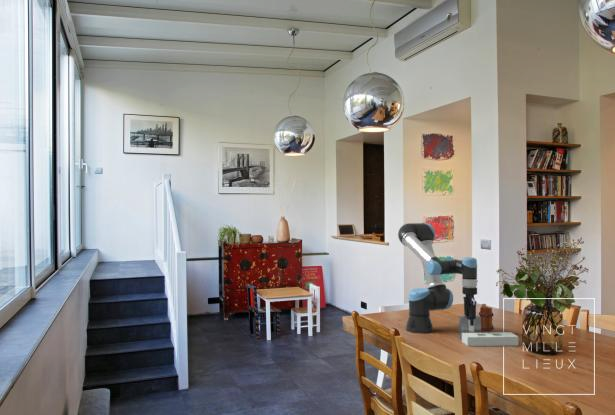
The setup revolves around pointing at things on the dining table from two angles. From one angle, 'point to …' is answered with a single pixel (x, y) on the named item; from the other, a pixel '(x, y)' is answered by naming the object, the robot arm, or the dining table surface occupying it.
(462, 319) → the grey block
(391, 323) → the dining table surface
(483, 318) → the mug
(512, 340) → the pale board with holes
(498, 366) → the dining table surface
